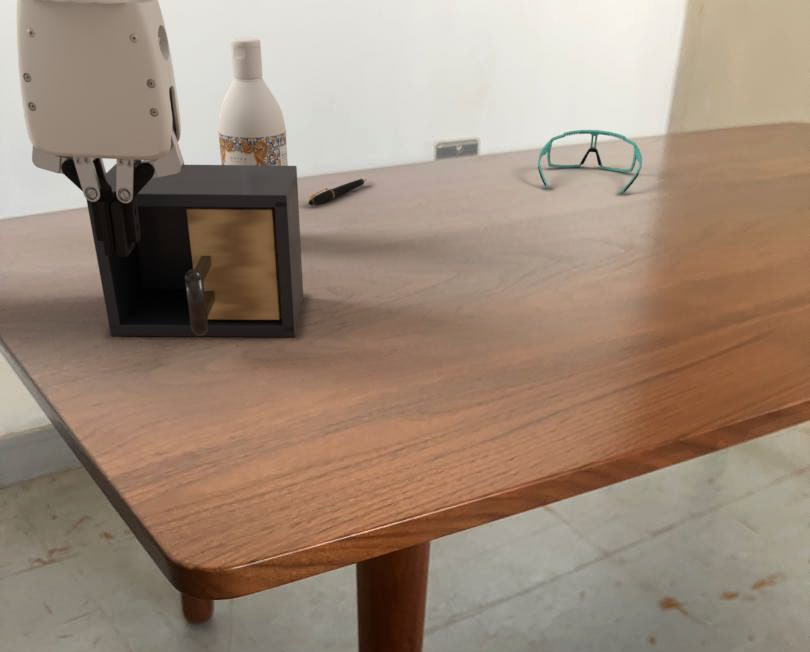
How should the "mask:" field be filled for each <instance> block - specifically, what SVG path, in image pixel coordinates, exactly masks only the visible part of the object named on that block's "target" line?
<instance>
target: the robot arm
mask: <svg viewBox="0 0 810 652" xmlns="http://www.w3.org/2000/svg"><path fill="white" fill-rule="evenodd" d="M162 13H163V12H162V9H161V6H160V3H159V0H16V45H17V46H16V47H17V62H18V74H19V83H20V84H19V87H20V94H21V102H22V109H23V116H24V117H23V118H24V122H25V127H26V131H27V135H28V139H29V141H30V143H31V145H32V151H31V161H32V163H33V165H34V166H35V167H36V168H38V169H41V170H45V171H49V172H52V173H55V174H61V175H63V176H65V177H66V178H67V179H68V180H69V181H70V182H72V184H73V185H75V186H76V187H77V188H78V189H79V190H80V191H81V192H82V193H83V194H82V195H83V196H84V198H85V200H86V199H87V200H89V201H91V204H92V211H93V218H94V224H95V231H96V237H97V240H98V241H103V244H104V251H105V255H106V256H114V254H116V253H117V254H118V255H120V256H121V257H128V255H129V254H130V252H131V251H132V249H133V248H134V246H135V242H136V243H138V242H139V241H140V236H141V232H140V223H139V215H138V206H137V198H136V195H137V194H138V193H139V192H140V191H141V189H142V188H143V187H144V186H145V185H146V184H147V183H148V182H149V181H150V179H154V178H160V177H165V176H170V175H174V174H178V173H179V172H180V171H181V170H182V168H183V167H184V165H185V161H184V157H183V154H182V150H181V147H180V144H179V141H180V140H181V139H180V138H181V135H182V134H181V133H182V132H181V131H182V128H181V127H182V124H181V115H180V113H181V112H180V105H179V99H178V92H177V85H176V79H175V71H174V65H173V60H172V53H171V49H170V44H169V38H168V33H167V29H166V25H165V21H164V17H163V14H162ZM103 159H107V160H111V159H112V160H116V164H117V170H116V191H115V192H114V191H112V187H111V186H110V185H109V181H108V178H107V174H106V173H107V171H106V168H105V164H104V163H105V162H104V160H103ZM87 200H86V201H87Z"/></svg>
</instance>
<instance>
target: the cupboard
mask: <svg viewBox="0 0 810 652" xmlns="http://www.w3.org/2000/svg"><path fill="white" fill-rule="evenodd" d="M116 170H117V163H115V164H114V165H113V166H112V167H111V168H110V169H109V170H108V171H106V174H107V178H108V181H109V185H110V186H111V187H112V191H114V192H115V191H116ZM136 198H137V206H138V215H139V223H140V232H141V236H140V241H139V242H138V243H136V242H135V246H134V248H133V249H132V251H131V252H130V254H129V255H128V257H121V256H120V255H118V254H117V253H116V254H114V256H106V255H105V251H104V244H103V241H98V240H97V237H96V231H95V224H94V218H93V211H92V204H91V201H89V200H87V199H86V198H85V200H86V204H87V210H88V215H89V221H90V227H91V231H92V233H91V234H92V237H93V244H94V249H95V254H96V255H95V256H96V261H97V267H98V271H99V277H100V282H101V288H102V294H103V300H104V305H105V311H106V316H107V322H108V327H109V333H110V334H109V335H110V336H112V337H228V338H231V337H232V338H233V337H237V338H238V337H242V338H246V337H248V338H249V337H250V338H254V337H255V338H295V337H296V333H297V328H298V323H299V318H300V315H301V308H302V304H303V300H304V283H303V263H302V245H301V227H300V208H299V207H300V206H299V205H300V204H299V187H298V169H297V165H288V166H270V165H222V164H184V167H183V168H182V170H181V171H180V172H179V173H178V174H174V175H170V176H165V177H160V178H154V179H150V181H149V182H148V183H147V184H146V185H145V186H144V187H143V188H142V189H141V191H140V192H139V193H138V194H137V195H136ZM187 207H258V208H273V211H274V226H275V241H276V256H277V271H278V286H279V301H280V316H281V317H280V320H213V319H208V331H207V333H206V334H204V335H201V336H199V335H196V334H194V333H193V332H192V330H191V325H190V317H189V309H188V301H187V293H186V285H185V273H186V272H187V271H188V270H190V269H193V262H192V254H191V246H190V237H189V229H188V221H187V212H186V209H187Z"/></svg>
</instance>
